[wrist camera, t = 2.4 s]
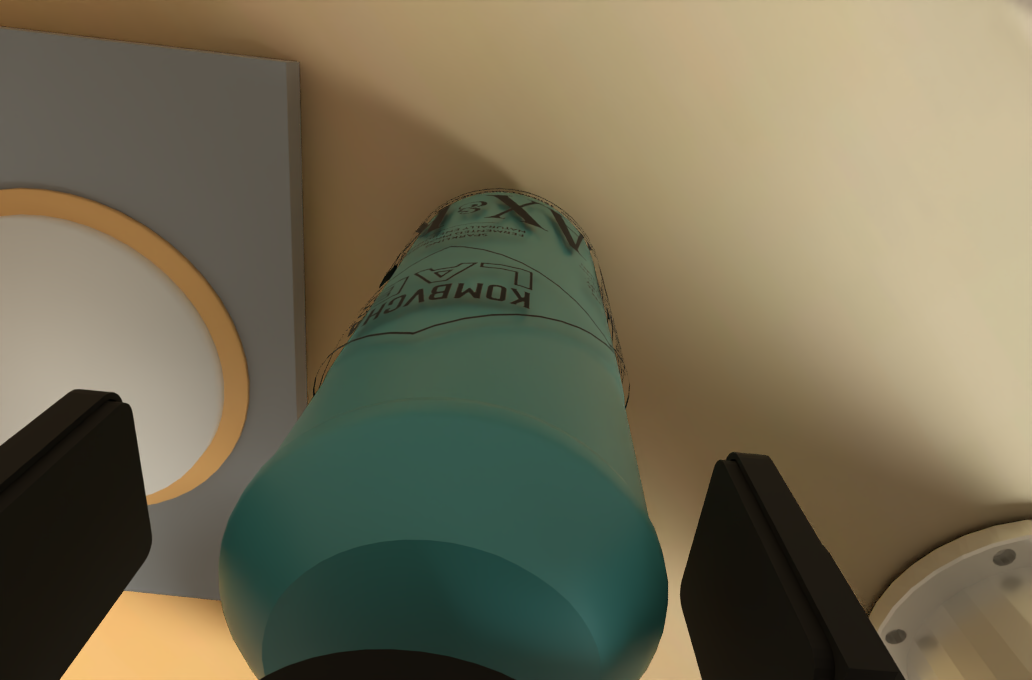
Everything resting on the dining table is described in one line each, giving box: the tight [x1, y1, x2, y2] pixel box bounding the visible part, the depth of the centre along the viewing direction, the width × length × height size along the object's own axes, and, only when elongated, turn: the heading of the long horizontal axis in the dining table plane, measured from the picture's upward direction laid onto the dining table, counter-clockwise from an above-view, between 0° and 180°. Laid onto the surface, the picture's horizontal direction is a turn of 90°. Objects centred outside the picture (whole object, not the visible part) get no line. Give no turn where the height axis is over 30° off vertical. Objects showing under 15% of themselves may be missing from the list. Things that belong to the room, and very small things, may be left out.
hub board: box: [0, 26, 307, 601], centre depth 24 cm, size 16×22×2 cm
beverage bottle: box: [218, 188, 668, 680], centre depth 14 cm, size 6×7×20 cm
